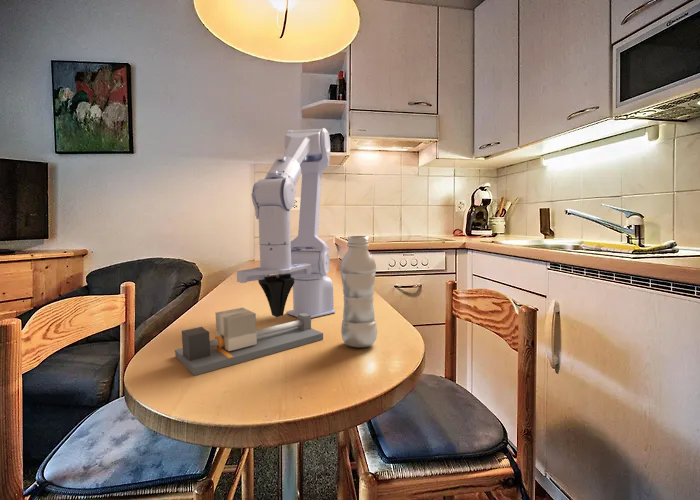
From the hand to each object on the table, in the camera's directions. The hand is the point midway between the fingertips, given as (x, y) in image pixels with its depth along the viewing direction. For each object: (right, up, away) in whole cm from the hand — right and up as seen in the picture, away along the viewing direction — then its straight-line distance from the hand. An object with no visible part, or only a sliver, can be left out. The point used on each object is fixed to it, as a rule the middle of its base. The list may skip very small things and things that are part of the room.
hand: (277, 315), depth 69 cm
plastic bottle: (+15, -5, -2) cm, 16 cm away
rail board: (-4, -5, -3) cm, 7 cm away
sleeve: (-6, -4, -5) cm, 9 cm away
